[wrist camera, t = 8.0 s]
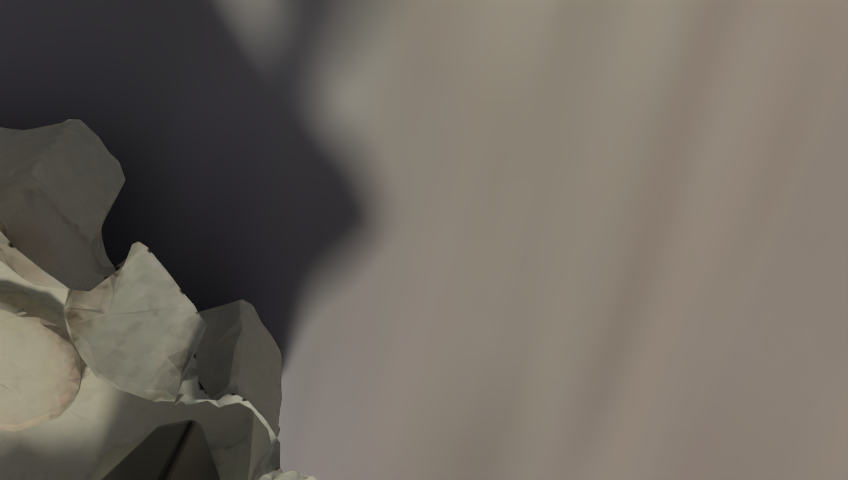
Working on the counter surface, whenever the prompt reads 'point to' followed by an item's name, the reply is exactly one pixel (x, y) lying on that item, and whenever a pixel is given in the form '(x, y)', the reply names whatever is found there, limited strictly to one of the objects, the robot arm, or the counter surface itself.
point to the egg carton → (112, 331)
